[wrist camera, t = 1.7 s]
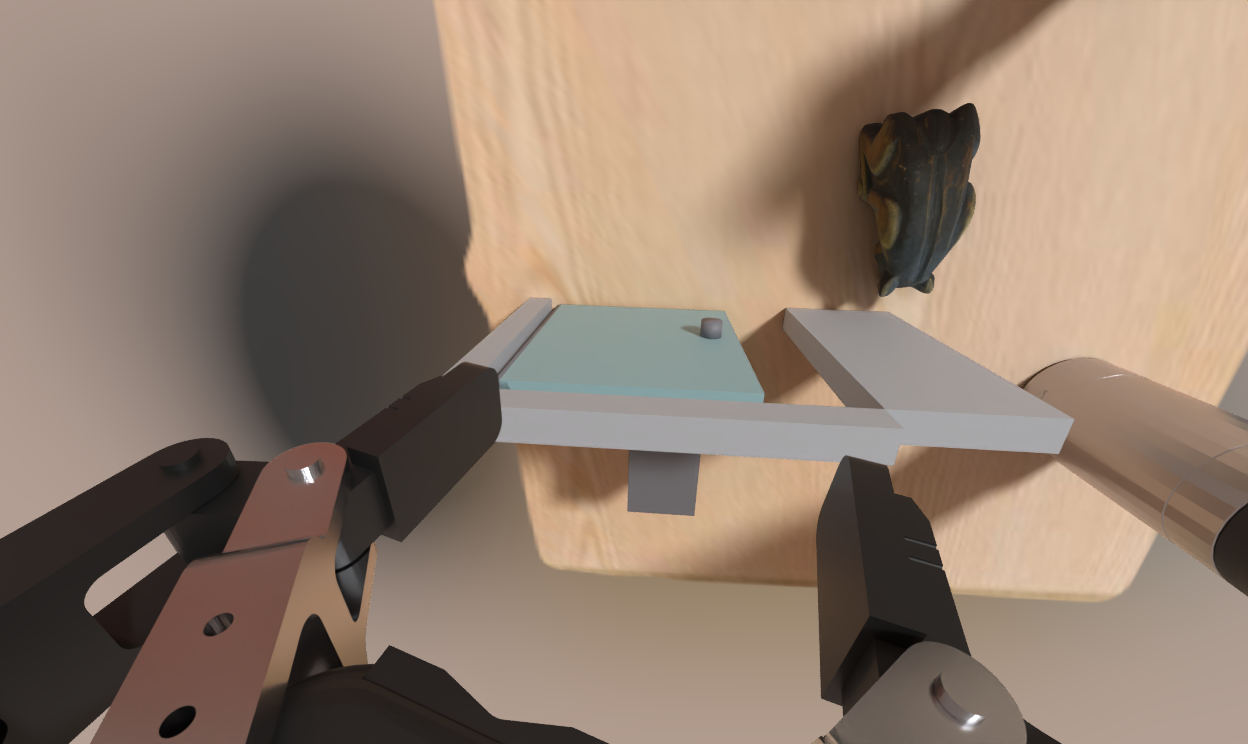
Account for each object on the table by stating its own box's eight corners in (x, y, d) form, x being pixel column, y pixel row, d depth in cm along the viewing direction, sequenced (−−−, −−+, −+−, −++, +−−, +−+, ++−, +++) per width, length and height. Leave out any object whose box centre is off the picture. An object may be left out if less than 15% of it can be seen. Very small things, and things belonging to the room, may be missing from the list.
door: (726, 298, 41) (767, 373, 25) (723, 323, 42) (761, 412, 26) (554, 291, 42) (487, 360, 26) (555, 316, 43) (491, 398, 27)
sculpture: (926, 282, 40) (977, 300, 33) (848, 291, 40) (883, 311, 34) (942, 110, 35) (1005, 92, 28) (853, 124, 36) (895, 110, 29)
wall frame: (888, 311, 41) (1111, 440, 21) (883, 333, 42) (1092, 477, 21) (530, 297, 43) (412, 402, 23) (531, 318, 44) (418, 437, 23)
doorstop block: (693, 374, 45) (702, 431, 34) (687, 444, 48) (694, 515, 38) (637, 371, 45) (630, 427, 35) (634, 441, 48) (627, 511, 38)
